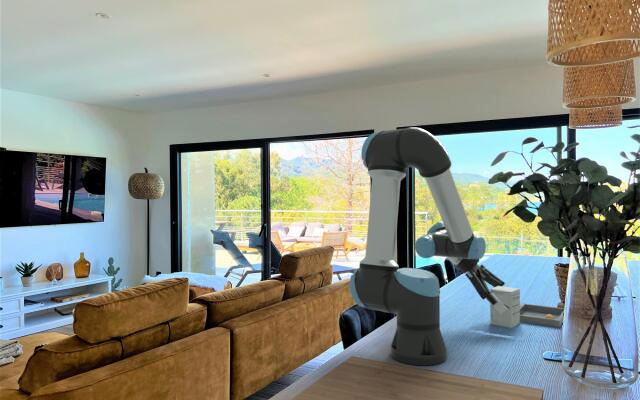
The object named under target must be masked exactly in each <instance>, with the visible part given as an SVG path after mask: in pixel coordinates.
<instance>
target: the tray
mask: <svg viewBox="0 0 640 400" xmlns="http://www.w3.org/2000/svg"><path fill="white" fill-rule="evenodd" d="M563 313H564V307H556V306H549V305H548V306H547V305H539V304H532V303H522V304H520V323H526V324H531V325H539V326H544V327H545V326H547V327H551V328H552V327H553V328H561V326H562V325H563V324H562V321H563ZM548 314H550V315H552V316H553V317H554V319H550V318H545V316H546V315H548Z"/></svg>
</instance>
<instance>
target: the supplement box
mask: <svg viewBox="0 0 640 400" xmlns="http://www.w3.org/2000/svg"><path fill="white" fill-rule="evenodd" d="M489 291H490V293H493V294H494V295H495V296H496V297H497V298H498V299H499V300H500V301H501V302H502V304H503V305H504V306H505V307H506V308H507V309H506V310H505V311H504V312H503V313H502V314H500V313H499V312H498V311H497V310H496V309H495V308H494V307H493V306H492V305H491V303H490V302H489V304H490V306H489V307H490V311H489V312H490V314H489V315H490V316H489V317H490V318H489V319H490V320H489V321H490V325H493V326H494V325H495V326H499V327H503V328H509V329H513V328H514V327H516V326H518V325H519V324H520V323H521V322H520V306H521V300H520V297H521V288H516V287H509V286H505V287H503V286H497V287H492V288H490V289H489Z"/></svg>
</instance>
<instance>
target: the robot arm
mask: <svg viewBox="0 0 640 400" xmlns="http://www.w3.org/2000/svg"><path fill="white" fill-rule="evenodd" d="M360 155H361V160H362V164H363V166H364V167H365V168H366V169H367V174H368V175H369V176H370V178H371V188H370V200H369V211H368V221H367V235H366V245H365V246H366V247H365V256H364V258H363V259H362V260H360V261H359V267H358V268H356V269H354V271H353V272H352V274H350V275H351V276H350V280H349V292H350V295H351V298H352V299H353V300H354V303H355V304H356V305H358V306H359V307H361V308H365V309H367V310H370V311H371V310H373V311H378V312H379V311H380V312H383V313H388V314H389V313H390V314H395V315H396V328H395V331H394V334H393V338H392V341H391V345H390V356H391V358H393V359H394V360H396V361H397V362H400V363H403V364H407V365H414V366H433V365H438V364H442V363H443V362H445V361H446V360H447V359H448V349H447V345H446V343H445V341H444V340H445V339H444V338H443V334H442V332H441V325H440V324H441V323H440V321H441V319H440V318H441V316H440V315H441V314H440V313H441V312H440V311H441V310H440V307H441V305H440V304H441V303H440V302H441V301H440V299H441V298H440V294H441V289H440V283H439V282H440V281H439V278H438V277H437V276H436V274H435V273H433V272H431V271H429V270H424V269H421V268H412V267H402V268H401V267H400V268H399V264H398V263H397V262H396V261H395V252H396V240H397V239H396V238H397V228H398V216H399V215H398V214H399V202H400V191H401V189H400V188H401V181H402V180H403V179H404V178H405V177H406V176H407V169H409V168H414V169H416V170H417V171H418V173H419V176H420V177H421V178H423V179H425V181H426V185H427V186H428V188H429V191H430V194H431V196H432V198H433V201H434V204H435V206H436V208H437V211H438V213H439V216H440V218H441V221H438V222H436V223H434V224H433V225H431V227H430V228H429V229H428V230H427V232H426V234H423V235H422V236H420V237H418V238H417V239H416V241H415V243H414V251H415V252H416V254H417V255H418V256H419V257H420V258H423V259H429V258H432V257H444V258H448V260H450V261H451V263H452V264H453V265H456V268H457V269H458V270H459V271H460V272H461V273H462V274H465V277H466V278H467V279H468V280H469V282H470V283H471V284H472V286H473V288H474V289H475V291H476V292H477V293H478V295H479V297H480V298H481V299H482V300H485V299H486V300H487V301H488V302H489V304H490V303H491V305H492V306H493V307H494V308H495V309H496V310H497V311H498V312H499V313H500V314H502V313H503V312H504V311H505V310H506V309H507V308H506V307H505V306H504V305H503V304H502V302H501V301H500V300H499V299H498V298H497V297H496V296H495V295H494V294H493V293H490V289H489V287H488V286H487V285H488V284H489V285H490V286H492V288H494V287H497V286H503V287H506V286H505V284H506V283H505V282H504V281H503V280H502V279H501V278H499V277H498V276H497V275H495V274H494V273H493V272H492V271H490V270H489V269H488V268H487V267H486V266H484V265H483V264H481V265H479V264H478V263H479V262H480V260H481V259H482V258H483V257H485V253H486V250H487V249H486V248H487V246H486V241H485V238H484V237H482V236H481V235H475V234H474V232H473V230H472V227H471V224H470V221H469V219H468V216H467V213H466V210H465V207H464V204H463V202H462V201H463V200H462V199H461V196H460V194H459V191H458V187H457V185H456V182H455V180H454V179H455V178H454V177H453V173H452V171H451V167H452V161H451V158H450V156H449V154H448V152H447V150H446V148H445V147H444V146H443V144H442V142H440V140H439V139H437V138H436V137H435V136H434V135H433V134H432V133H430V132H429V131H427V130H425V129H423V128H421V127H414V126H413V127H411V126H410V127H406V128H398V129H389V130H380V131H378V132H374V133H371V134H369V136H367V137H366V139H365V140H364V142H363V145H362V147H361V154H360Z"/></svg>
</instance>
